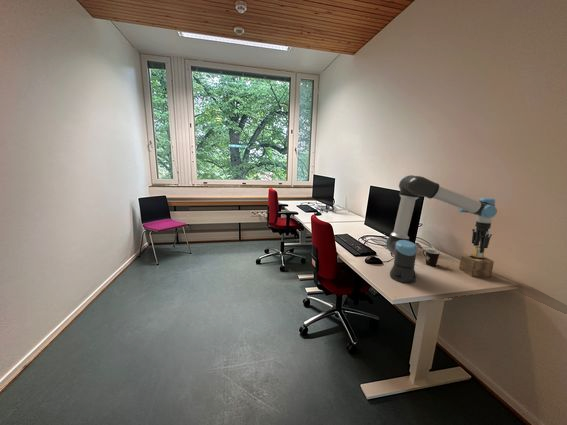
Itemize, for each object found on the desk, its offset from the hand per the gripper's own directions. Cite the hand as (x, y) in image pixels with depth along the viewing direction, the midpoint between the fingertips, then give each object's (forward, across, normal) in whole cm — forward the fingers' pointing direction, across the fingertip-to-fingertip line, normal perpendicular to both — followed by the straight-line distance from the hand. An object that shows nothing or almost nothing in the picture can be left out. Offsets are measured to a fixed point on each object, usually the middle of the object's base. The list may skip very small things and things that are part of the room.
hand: (477, 255), depth 155 cm
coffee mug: (+12, +13, +22) cm, 28 cm away
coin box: (+12, 0, 0) cm, 12 cm away
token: (0, 0, 0) cm, 1 cm away
